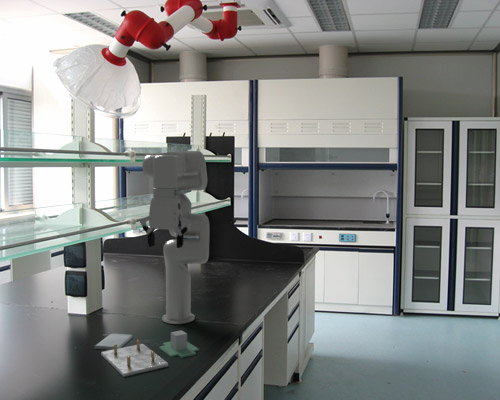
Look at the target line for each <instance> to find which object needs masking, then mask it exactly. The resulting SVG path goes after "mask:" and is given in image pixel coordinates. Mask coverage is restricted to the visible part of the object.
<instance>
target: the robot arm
mask: <svg viewBox="0 0 500 400" xmlns="http://www.w3.org/2000/svg"><path fill="white" fill-rule="evenodd" d="M142 172H143V174H144V176H145V177H147V178H149V179H150V178H151V179H152V178H153V183H152V187H153V188H152V189H153V191H152V192H153V194H152V198H151V200H150V205H149V213H148V216H146V217H144V218H142V219H140V220H139V223H140V225H141V227H142V230H144V232H145V234H146V235H147V244H148V247H149V248H150V247H154V246H155V244H156V243H155V240H156V238H155V233H154V232H155V230H168V231H169V234H170V236H172V237H174V238H175V239H169V240H167V241H165V243H164V244H163V249H162V251H163V259H164V265H165V266H164V267H165V308H164V309H165V314H164V315H162V317H161V320H162V322H164V323H166V324H170V325H171V324H172V325H182V324H187V323H188V324H189V323H191V322H193V321H195V317H196V316H195V315H194V314H193V313H192V312H191V309H192V305H191V304H192V303H191V300H192V297H191V292H192V291H191V290H192V289H191V287H192V286H191V282H192V281H191V273H190V271H189V269H188V268H187V267H186V265H202V264H206V263H207V262H208V260H209V257H210V221H209V218H208V216H207V215H206V214H204V213H192V206H193V205H192V201H191V200H190V199H189V197H188V196H187V195H186V194H185V193H184V192H183V191H191V192H192V191H197V192H198V191H203V190H205V189H206V188H207V186H208V171H207V164H206V159H205V156H204V153H202V152H201V151H199V150H174V151H172V152H171V151H169V152H160V153H152V154H151V153H150V154H146V155H145V156H144V158H143V160H142ZM147 222H148V225H147ZM189 238H191V239H189Z"/></svg>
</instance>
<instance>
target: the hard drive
mask: <svg viewBox="0 0 500 400" xmlns="http://www.w3.org/2000/svg"><path fill="white" fill-rule="evenodd" d="M131 339H133V334H128V333H127V334H125V333H110V334H109V335H107V336H106V337H105V338H104V339H102V340H101V341H99V342H98V343H97V344H95V345H94V346H93V347H94V349H96V350H105V351H109V350H113V349H114V344H117V349H118V348H123V346H125V344H127V343H128V342H130V340H131Z"/></svg>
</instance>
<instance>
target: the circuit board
mask: <svg viewBox="0 0 500 400" xmlns="http://www.w3.org/2000/svg"><path fill="white" fill-rule="evenodd" d="M158 348H159V350H161V351H162V352H164V353H165V354H166V355H168V357H171V358H174V357H177V356H178V357H179V358H181V359H183V358H188V357H191V356H196V355H197V352H199V351H200V348H198V347H197V346H196V345H193V344H192V343H190V342H189V341H188V333H187V332H185V331H183V330H176V331H172V332H170V341H166V342H163V343H162V345H161V346H158Z"/></svg>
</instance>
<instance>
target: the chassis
mask: <svg viewBox="0 0 500 400" xmlns="http://www.w3.org/2000/svg"><path fill="white" fill-rule="evenodd" d="M100 354H101V356H102V357H103V358H104V359H105V360H106V361H107V362H108V364H110V365H111V366H112V367H113V368H114V369H115V370H116V371H117V372H118V373H119V375H121V376H122V377H123V378H125V377H129V376H134V375H138V374H142V373H146V372H151V371H155V370H158V369H162V368H167V367H169V362H167V361H166V360H164V358H162V357H161V356H159V355H158V354H157V353H156V352H155V350H152V349H150V348H149V347H148V346H146V345H145V344H144V343H141V340H140V339H137V340H136V344H134V345H133V344H132V345H130V346H124V347H123V346H122V347H121V348H118V349H117V344H114V349H113V350H105V351H101V353H100Z"/></svg>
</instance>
